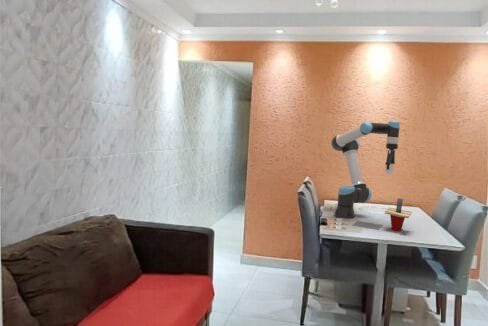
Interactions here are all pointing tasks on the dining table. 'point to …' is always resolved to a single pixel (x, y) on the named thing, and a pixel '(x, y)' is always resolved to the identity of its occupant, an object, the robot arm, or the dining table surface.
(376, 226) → the mat
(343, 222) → the dining table surface
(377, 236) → the dining table surface
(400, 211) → the lid
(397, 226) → the plastic cup
